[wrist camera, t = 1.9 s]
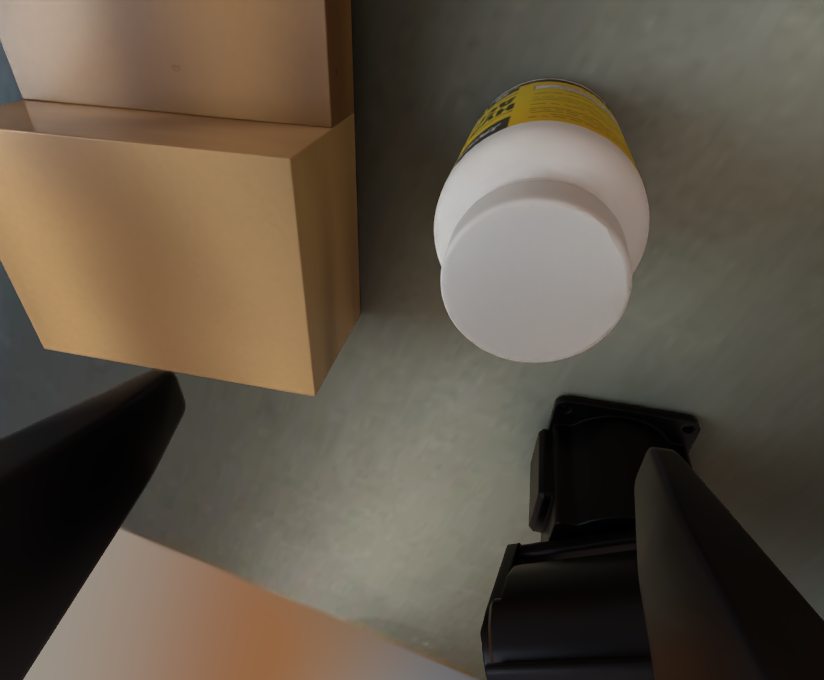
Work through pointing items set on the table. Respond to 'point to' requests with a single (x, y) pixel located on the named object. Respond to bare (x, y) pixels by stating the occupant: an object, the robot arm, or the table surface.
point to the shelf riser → (184, 183)
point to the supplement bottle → (541, 224)
